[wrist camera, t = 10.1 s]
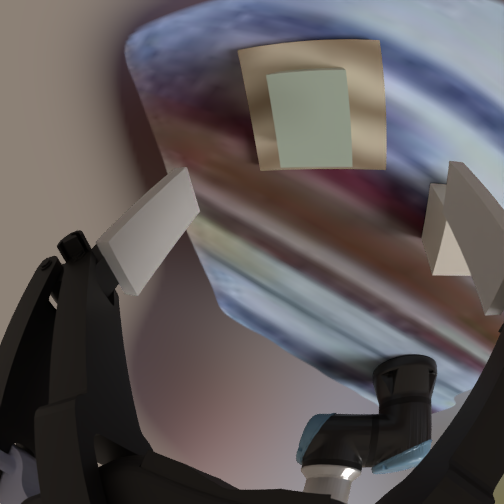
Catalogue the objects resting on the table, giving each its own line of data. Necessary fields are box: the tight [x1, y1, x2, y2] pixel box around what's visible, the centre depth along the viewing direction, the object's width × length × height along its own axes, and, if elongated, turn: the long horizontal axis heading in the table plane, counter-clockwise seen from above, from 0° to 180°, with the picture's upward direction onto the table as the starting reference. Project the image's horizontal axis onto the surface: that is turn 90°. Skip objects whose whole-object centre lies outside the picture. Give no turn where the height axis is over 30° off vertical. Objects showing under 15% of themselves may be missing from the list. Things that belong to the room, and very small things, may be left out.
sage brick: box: [266, 68, 353, 168], centre depth 22 cm, size 8×6×7 cm
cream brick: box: [421, 183, 471, 276], centre depth 26 cm, size 8×6×7 cm
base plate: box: [238, 39, 386, 171], centre depth 25 cm, size 14×14×2 cm
